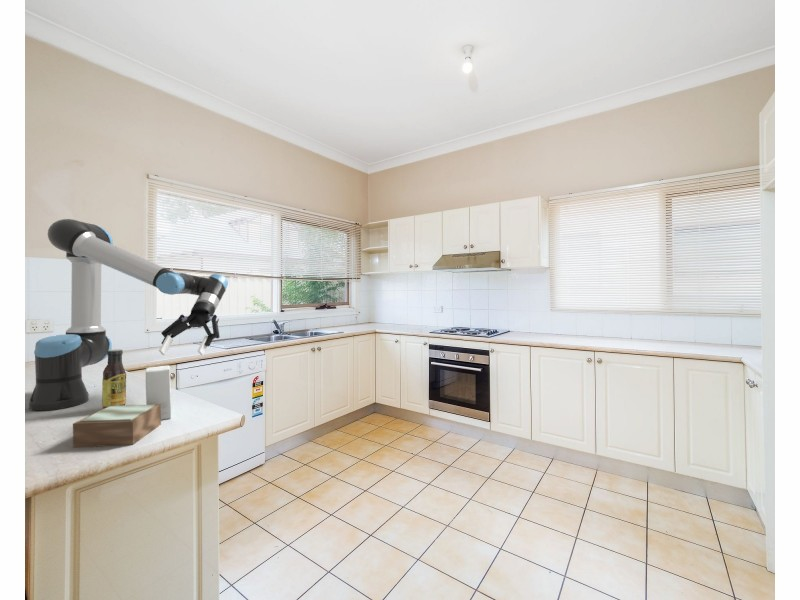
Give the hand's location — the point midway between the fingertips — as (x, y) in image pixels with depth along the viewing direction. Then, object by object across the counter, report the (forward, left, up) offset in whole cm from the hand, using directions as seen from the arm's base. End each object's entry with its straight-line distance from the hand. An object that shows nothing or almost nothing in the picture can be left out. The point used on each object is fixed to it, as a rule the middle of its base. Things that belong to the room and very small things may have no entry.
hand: (180, 353), depth 125 cm
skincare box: (+11, -2, -19) cm, 21 cm away
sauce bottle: (+2, -20, -19) cm, 27 cm away
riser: (+25, -5, -18) cm, 31 cm away
